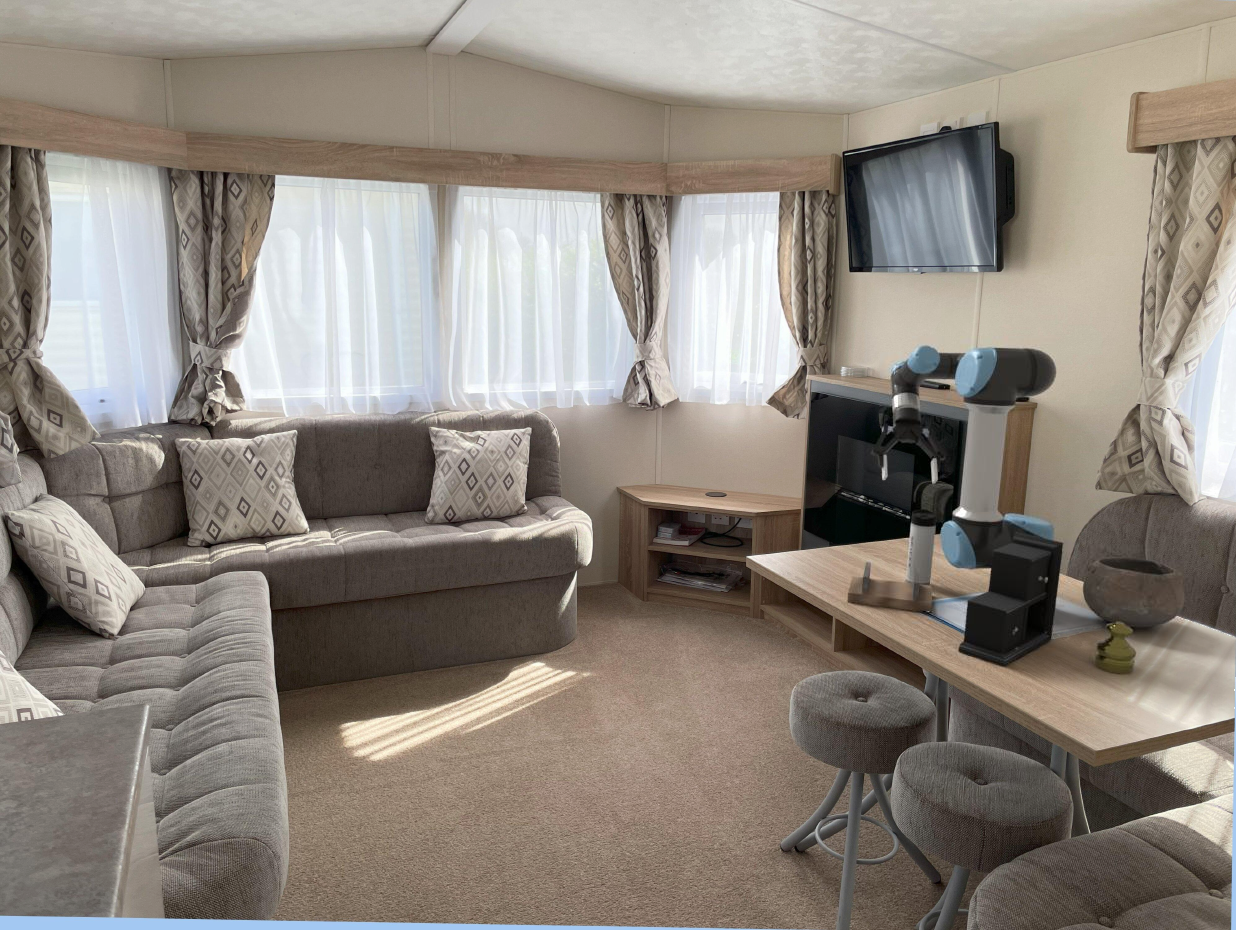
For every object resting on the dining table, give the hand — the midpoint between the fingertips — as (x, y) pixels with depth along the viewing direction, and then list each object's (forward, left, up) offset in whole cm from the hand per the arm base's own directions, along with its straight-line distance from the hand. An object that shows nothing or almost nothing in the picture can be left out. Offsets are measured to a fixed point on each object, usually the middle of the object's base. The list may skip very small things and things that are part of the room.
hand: (909, 479), depth 249 cm
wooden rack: (-11, +23, -26) cm, 37 cm away
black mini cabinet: (-44, +30, -27) cm, 60 cm away
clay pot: (-57, -8, -27) cm, 63 cm away
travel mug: (-9, +6, -27) cm, 29 cm away
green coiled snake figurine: (-65, +23, -27) cm, 74 cm away
